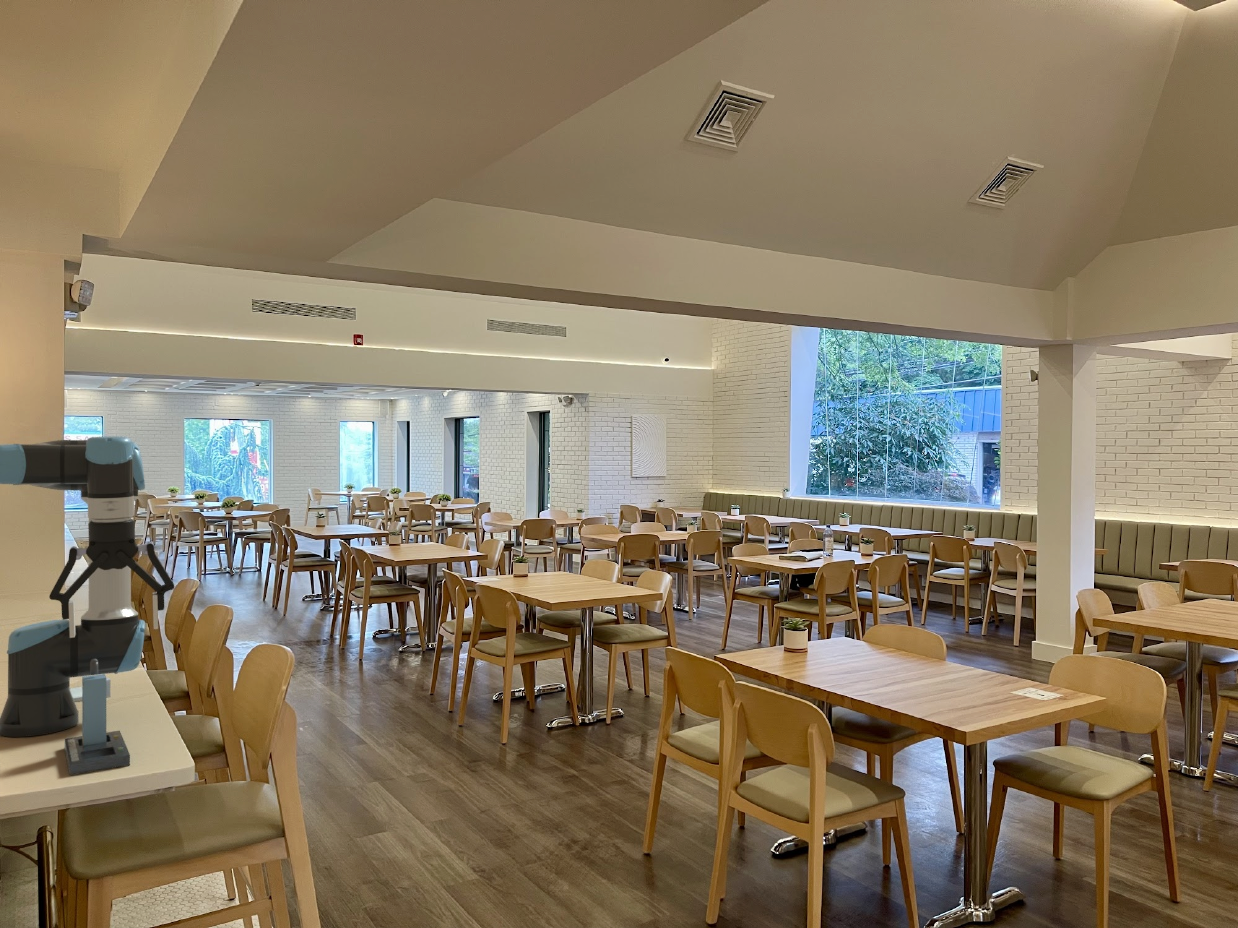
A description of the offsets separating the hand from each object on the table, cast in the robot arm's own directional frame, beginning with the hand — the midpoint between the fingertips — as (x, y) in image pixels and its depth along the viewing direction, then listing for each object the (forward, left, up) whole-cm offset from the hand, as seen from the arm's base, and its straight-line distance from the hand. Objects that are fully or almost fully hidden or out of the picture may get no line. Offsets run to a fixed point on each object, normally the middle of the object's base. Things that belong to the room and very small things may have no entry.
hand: (115, 631), depth 167 cm
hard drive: (-75, -1, -28) cm, 80 cm away
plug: (-21, -2, -27) cm, 34 cm away
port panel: (-16, -2, -27) cm, 32 cm away
